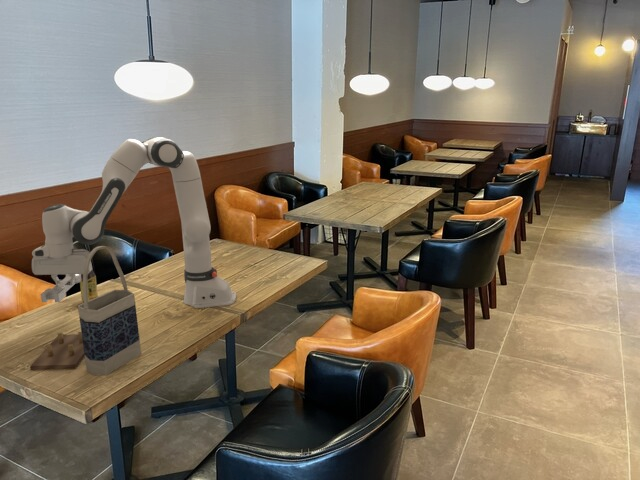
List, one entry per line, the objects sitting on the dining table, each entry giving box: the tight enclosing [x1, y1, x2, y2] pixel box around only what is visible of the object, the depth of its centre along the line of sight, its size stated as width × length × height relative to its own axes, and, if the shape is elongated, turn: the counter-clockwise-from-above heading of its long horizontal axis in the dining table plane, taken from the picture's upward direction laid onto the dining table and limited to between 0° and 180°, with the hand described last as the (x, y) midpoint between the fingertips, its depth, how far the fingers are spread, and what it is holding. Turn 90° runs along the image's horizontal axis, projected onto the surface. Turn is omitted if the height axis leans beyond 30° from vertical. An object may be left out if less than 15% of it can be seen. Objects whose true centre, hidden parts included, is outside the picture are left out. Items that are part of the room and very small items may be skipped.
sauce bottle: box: [79, 268, 99, 304], centre depth 212 cm, size 7×6×20 cm
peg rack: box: [29, 331, 85, 371], centre depth 172 cm, size 14×22×5 cm, turn 5°
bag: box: [77, 245, 142, 376], centre depth 162 cm, size 18×9×40 cm, turn 155°
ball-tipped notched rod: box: [40, 274, 82, 303], centre depth 186 cm, size 23×6×3 cm, turn 4°
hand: (64, 284), depth 187 cm, fingers closed on ball-tipped notched rod, 3 cm apart
